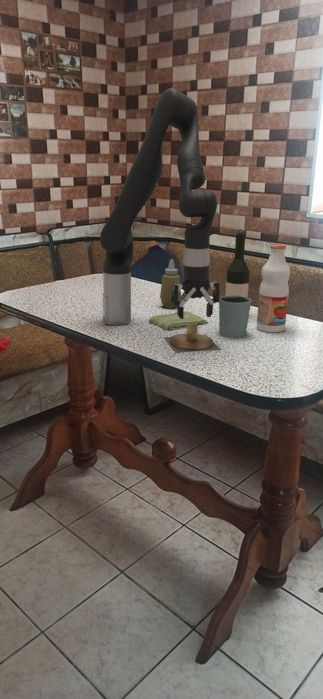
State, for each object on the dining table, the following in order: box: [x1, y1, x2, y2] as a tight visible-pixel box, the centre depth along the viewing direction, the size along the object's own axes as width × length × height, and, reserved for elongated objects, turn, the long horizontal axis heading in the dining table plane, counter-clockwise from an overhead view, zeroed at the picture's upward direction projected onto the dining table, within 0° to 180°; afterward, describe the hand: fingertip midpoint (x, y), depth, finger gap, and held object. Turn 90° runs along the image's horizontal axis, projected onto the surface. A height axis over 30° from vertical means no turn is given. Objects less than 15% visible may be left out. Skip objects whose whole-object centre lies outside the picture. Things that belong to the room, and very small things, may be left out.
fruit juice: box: [256, 243, 291, 334], centre depth 171 cm, size 9×9×28 cm
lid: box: [170, 323, 214, 352], centre depth 158 cm, size 13×13×6 cm
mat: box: [163, 334, 222, 354], centre depth 159 cm, size 14×14×1 cm
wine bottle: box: [224, 230, 250, 298], centre depth 185 cm, size 8×8×30 cm
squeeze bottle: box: [159, 258, 182, 309], centre depth 197 cm, size 8×8×18 cm
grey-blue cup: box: [218, 295, 252, 339], centre depth 167 cm, size 10×10×12 cm
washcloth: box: [148, 310, 209, 332], centre depth 179 cm, size 13×18×3 cm
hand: (195, 317), depth 157 cm, fingers open, 8 cm apart
